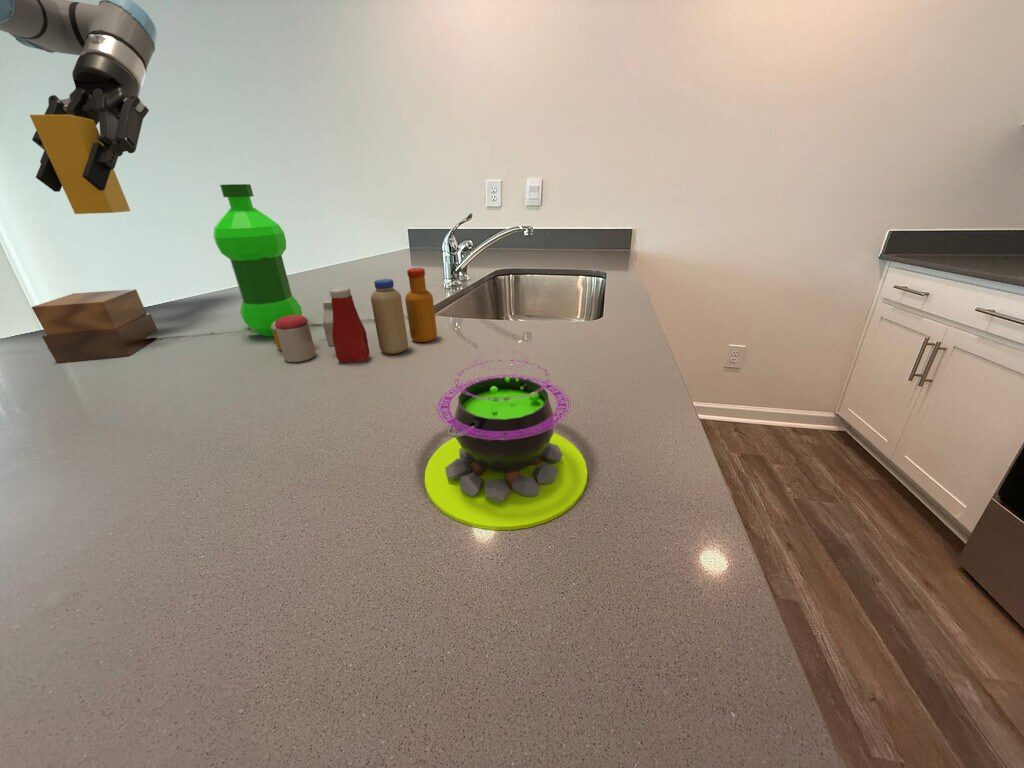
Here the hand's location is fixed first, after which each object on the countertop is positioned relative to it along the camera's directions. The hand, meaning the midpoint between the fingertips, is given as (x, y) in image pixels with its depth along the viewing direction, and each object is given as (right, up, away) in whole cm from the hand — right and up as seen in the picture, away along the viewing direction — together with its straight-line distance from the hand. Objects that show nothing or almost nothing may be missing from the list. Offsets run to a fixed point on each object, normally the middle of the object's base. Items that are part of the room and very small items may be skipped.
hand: (70, 183), depth 61 cm
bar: (0, -2, +5) cm, 6 cm away
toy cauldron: (+65, -38, -23) cm, 79 cm away
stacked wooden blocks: (-3, -24, +10) cm, 26 cm away
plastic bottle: (+22, -20, +16) cm, 34 cm away
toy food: (+40, -24, +7) cm, 47 cm away
